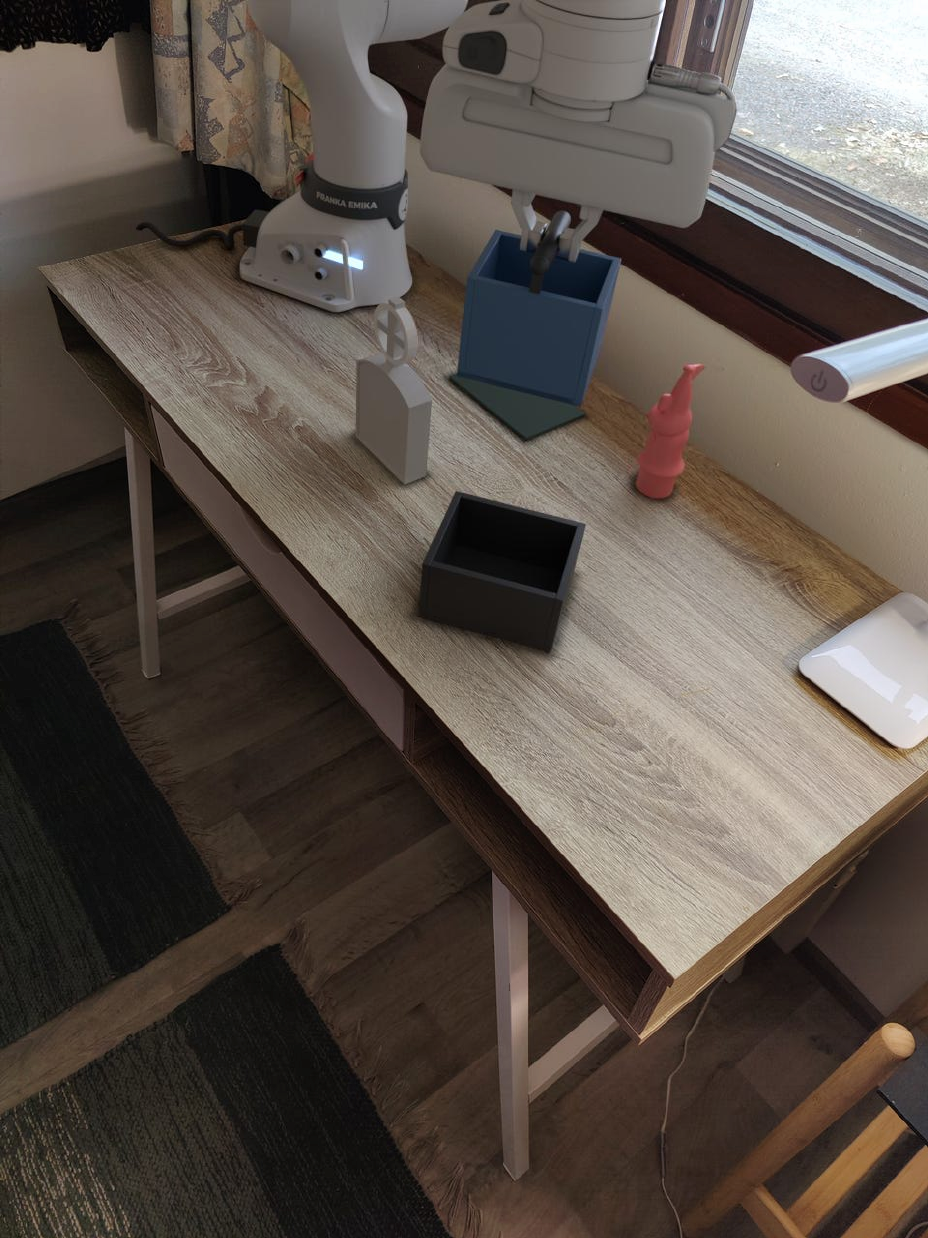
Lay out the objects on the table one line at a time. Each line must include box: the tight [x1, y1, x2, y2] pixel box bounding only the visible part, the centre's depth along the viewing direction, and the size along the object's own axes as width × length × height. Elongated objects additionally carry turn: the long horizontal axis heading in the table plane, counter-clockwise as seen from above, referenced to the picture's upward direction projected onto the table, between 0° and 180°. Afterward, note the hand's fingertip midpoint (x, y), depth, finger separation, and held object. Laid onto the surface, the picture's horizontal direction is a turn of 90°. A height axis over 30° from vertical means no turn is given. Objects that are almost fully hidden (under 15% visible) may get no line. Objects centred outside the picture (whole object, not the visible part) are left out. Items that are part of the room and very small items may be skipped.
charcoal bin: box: [417, 490, 587, 653], centre depth 87 cm, size 12×10×7 cm
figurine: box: [635, 363, 706, 499], centre depth 97 cm, size 5×5×15 cm
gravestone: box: [355, 296, 433, 485], centre depth 95 cm, size 3×9×18 cm, turn 37°
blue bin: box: [456, 210, 622, 408], centre depth 74 cm, size 10×9×11 cm
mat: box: [448, 372, 586, 442], centre depth 111 cm, size 14×9×1 cm, turn 39°
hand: (548, 253), depth 71 cm, fingers closed on blue bin
